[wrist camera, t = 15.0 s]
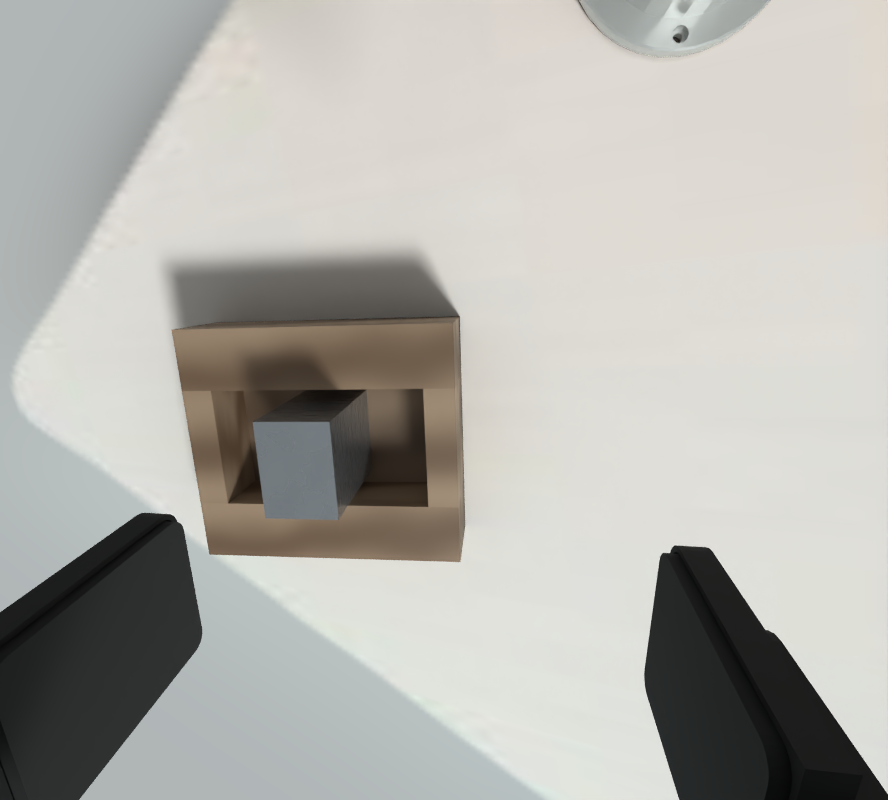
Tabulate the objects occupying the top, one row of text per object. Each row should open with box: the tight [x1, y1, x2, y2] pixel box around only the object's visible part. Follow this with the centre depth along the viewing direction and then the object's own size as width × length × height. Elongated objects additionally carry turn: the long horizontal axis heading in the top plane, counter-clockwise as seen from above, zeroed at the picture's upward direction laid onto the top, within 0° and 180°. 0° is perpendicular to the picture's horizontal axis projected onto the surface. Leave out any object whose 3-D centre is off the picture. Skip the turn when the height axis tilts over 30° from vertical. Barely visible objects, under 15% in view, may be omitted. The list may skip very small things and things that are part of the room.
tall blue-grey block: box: [253, 390, 372, 520], centre depth 32 cm, size 6×4×8 cm
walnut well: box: [172, 316, 465, 562], centre depth 35 cm, size 16×18×5 cm
